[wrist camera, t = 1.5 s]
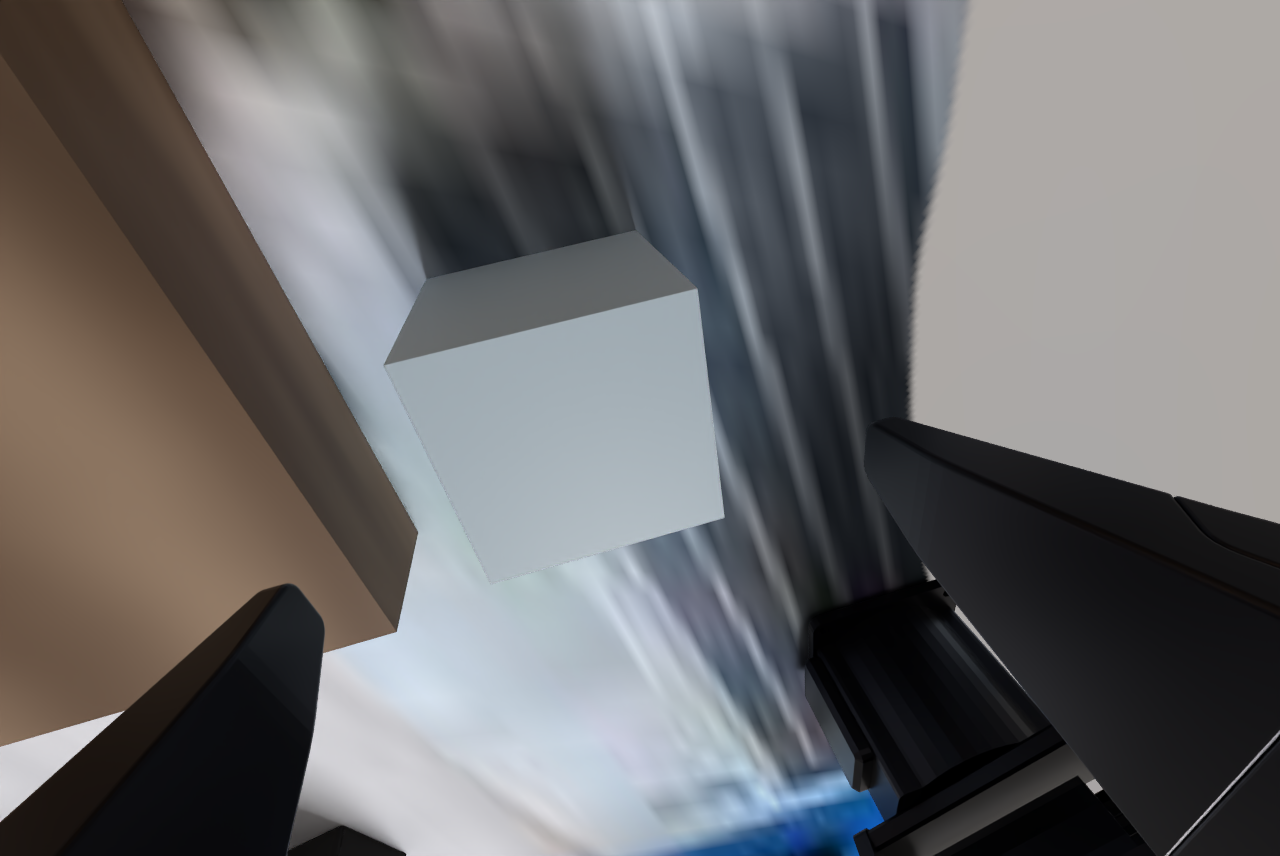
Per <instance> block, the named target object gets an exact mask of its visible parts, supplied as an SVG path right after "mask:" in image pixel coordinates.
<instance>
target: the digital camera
mask: <svg viewBox="0 0 1280 856" xmlns="http://www.w3.org/2000/svg"><path fill="white" fill-rule="evenodd" d="M344 830H345V831H344ZM343 834H344V835H343ZM340 847H341V849H340ZM339 852H340V853H339ZM287 856H406V854H405V853H404V852H400V851H398V850H396V849H394V848H391V847H389V846H387V845H385V844H383V843H380V842H378V841H376V840H374V839H372V838H369V837H367V836H365V835H363V834H360V833H358V832H356V831H354V830H352V829H349V828H347V827H345V826H340V827H338V828H336V829H334V830H332V831H330V832H327V833H325V834H323V835H321V836H319V837H317V838H315V839H313V840H311V841H309V842H306V843H304V844H302V845H300V846H298V847H296V848H294V849H292V850H290V851H288V852H287Z"/></svg>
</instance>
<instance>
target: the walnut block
mask: <svg viewBox="0 0 1280 856" xmlns="http://www.w3.org/2000/svg"><path fill="white" fill-rule="evenodd" d="M417 535H418V531H417V530H416V528H415V526H414V524H413V522H412V521H411V519H410V517H409V515H408V514H407V512H406V510H405V508H404V506H403V505H402V503H401V501H400V499H399V497H398V496H397V494H396V492H395V490H394V488H393V487H392V485H391V483H390V481H389V479H388V478H387V476H386V474H385V472H384V470H383V469H382V467H381V465H380V463H379V461H378V460H377V458H376V456H375V454H374V453H373V451H372V449H371V447H370V445H369V444H368V442H367V440H366V438H365V436H364V435H363V433H362V431H361V429H360V427H359V426H358V424H357V422H356V420H355V418H354V417H353V415H352V413H351V411H350V409H349V408H348V406H347V404H346V402H345V400H344V399H343V397H342V395H341V393H340V392H339V390H338V388H337V386H336V384H335V383H334V381H333V379H332V377H331V375H330V374H329V372H328V370H327V368H326V366H325V365H324V363H323V361H322V359H321V357H320V356H319V354H318V352H317V350H316V348H315V347H314V345H313V343H312V341H311V339H310V338H309V336H308V334H307V332H306V331H305V329H304V327H303V325H302V323H301V322H300V320H299V318H298V316H297V314H296V313H295V311H294V309H293V307H292V305H291V304H290V302H289V300H288V298H287V296H286V295H285V293H284V291H283V289H282V287H281V286H280V284H279V282H278V280H277V278H276V277H275V275H274V273H273V271H272V270H271V268H270V266H269V264H268V262H267V261H266V259H265V257H264V255H263V253H262V252H261V250H260V248H259V246H258V244H257V243H256V241H255V239H254V237H253V235H252V234H251V232H250V230H249V228H248V226H247V225H246V223H245V221H244V219H243V218H242V216H241V214H240V212H239V210H238V209H237V207H236V205H235V203H234V201H233V200H232V198H231V196H230V194H229V192H228V191H227V189H226V187H225V185H224V183H223V182H222V180H221V178H220V176H219V174H218V173H217V171H216V169H215V167H214V165H213V164H212V162H211V160H210V158H209V157H208V155H207V153H206V151H205V149H204V148H203V146H202V144H201V142H200V140H199V139H198V137H197V135H196V133H195V131H194V130H193V128H192V126H191V124H190V122H189V121H188V119H187V117H186V115H185V113H184V112H183V110H182V108H181V106H180V104H179V103H178V101H177V99H176V97H175V96H174V94H173V92H172V90H171V88H170V87H169V85H168V83H167V81H166V79H165V78H164V76H163V74H162V72H161V70H160V69H159V67H158V65H157V63H156V61H155V60H154V58H153V56H152V54H151V52H150V51H149V49H148V47H147V45H146V43H145V42H144V40H143V38H142V36H141V35H140V33H139V31H138V29H137V27H136V26H135V24H134V22H133V20H132V18H131V17H130V15H129V13H128V11H127V9H126V8H125V6H124V4H123V2H122V0H0V747H1V746H4V745H8V744H11V743H15V742H18V741H21V740H25V739H28V738H32V737H35V736H39V735H42V734H46V733H49V732H53V731H56V730H59V729H63V728H66V727H70V726H73V725H77V724H80V723H84V722H87V721H90V720H94V719H97V718H101V717H104V716H108V715H111V714H115V713H118V712H122V711H125V710H127V709H128V708H129V707H130V706H131V705H132V704H133V703H134V702H136V701H137V700H138V699H139V698H140V697H141V696H142V695H143V694H144V693H146V692H147V691H148V690H149V689H150V688H151V687H152V686H153V685H155V684H156V683H157V682H158V681H159V680H160V679H161V678H162V677H164V676H165V675H166V674H167V673H168V672H169V671H170V670H171V669H172V668H174V667H175V666H176V665H177V664H178V663H179V662H180V661H181V660H183V659H184V658H185V657H186V656H187V655H188V654H189V653H190V652H192V651H193V650H194V649H195V648H196V647H197V646H198V645H199V644H200V643H202V642H203V641H204V640H205V639H206V638H207V637H208V636H209V635H211V634H212V633H213V632H214V631H215V630H216V629H217V628H218V627H220V626H221V625H222V624H223V623H224V622H225V621H226V620H227V619H228V618H230V617H231V616H232V615H233V614H234V613H235V612H236V611H237V610H239V609H240V608H241V607H242V606H243V605H244V604H245V603H246V602H248V601H249V600H250V599H251V598H252V597H253V596H254V595H255V594H257V593H258V592H260V591H261V590H264V589H267V588H271V587H274V586H278V585H281V584H285V583H292V584H294V585H296V586H297V587H298V588H299V589H300V590H301V591H302V592H303V594H304V595H305V596H306V598H307V599H308V600H309V601H310V603H311V604H312V605H313V606H314V608H315V609H316V610H317V612H318V613H319V614H320V615H321V617H322V619H323V622H324V626H325V639H324V648H323V653H325V652H329V651H332V650H336V649H339V648H343V647H346V646H349V645H353V644H356V643H360V642H363V641H367V640H370V639H374V638H377V637H381V636H384V635H387V634H391V633H394V632H397V628H398V623H399V619H400V614H401V609H402V605H403V600H404V595H405V591H406V586H407V582H408V577H409V572H410V568H411V563H412V558H413V554H414V549H415V544H416V540H417Z"/></svg>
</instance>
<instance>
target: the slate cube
mask: <svg viewBox="0 0 1280 856" xmlns="http://www.w3.org/2000/svg"><path fill="white" fill-rule="evenodd" d="M384 367H385V370H386V372H387V374H388V376H389V378H390V380H391V382H392V384H393V386H394V388H395V390H396V392H397V394H398V396H399V398H400V400H401V402H402V404H403V406H404V408H405V410H406V412H407V414H408V417H409V419H410V421H411V423H412V425H413V427H414V429H415V431H416V433H417V435H418V437H419V439H420V441H421V443H422V445H423V447H424V449H425V451H426V453H427V455H428V457H429V459H430V461H431V464H432V466H433V468H434V470H435V472H436V474H437V476H438V478H439V480H440V482H441V484H442V486H443V488H444V490H445V492H446V494H447V496H448V498H449V500H450V502H451V504H452V506H453V509H454V511H455V513H456V515H457V517H458V519H459V521H460V523H461V525H462V527H463V529H464V531H465V533H466V535H467V537H468V539H469V541H470V543H471V545H472V547H473V549H474V551H475V553H476V556H477V558H478V560H479V562H480V564H481V566H482V568H483V570H484V572H485V574H486V576H487V578H488V580H489V582H490V584H494V583H497V582H501V581H504V580H508V579H511V578H515V577H518V576H522V575H525V574H529V573H532V572H536V571H539V570H543V569H546V568H550V567H553V566H557V565H560V564H564V563H567V562H571V561H574V560H578V559H581V558H585V557H588V556H592V555H595V554H599V553H602V552H606V551H610V550H613V549H617V548H620V547H624V546H627V545H631V544H634V543H638V542H641V541H645V540H648V539H652V538H655V537H659V536H662V535H666V534H669V533H673V532H676V531H680V530H683V529H687V528H690V527H694V526H697V525H701V524H704V523H708V522H711V521H715V520H718V519H722V518H724V509H723V501H722V492H721V484H720V475H719V467H718V458H717V450H716V441H715V433H714V424H713V416H712V408H711V399H710V391H709V382H708V374H707V365H706V357H705V348H704V340H703V331H702V323H701V314H700V306H699V297H698V289H697V288H696V287H695V286H694V285H693V284H692V283H691V282H690V281H689V280H688V279H687V278H686V277H685V276H684V275H683V274H682V273H681V272H680V271H678V270H677V269H676V268H675V267H674V266H673V265H672V264H671V263H670V262H669V261H668V260H667V259H666V258H665V257H664V256H663V255H662V254H661V253H660V252H658V251H657V250H656V249H655V248H654V247H653V246H652V245H651V244H650V243H649V242H648V241H647V240H646V239H645V238H644V237H643V236H642V235H641V234H639V233H638V232H637V231H636V230H634V231H630V232H626V233H621V234H617V235H613V236H608V237H604V238H600V239H596V240H591V241H587V242H583V243H578V244H574V245H570V246H566V247H561V248H557V249H553V250H548V251H544V252H540V253H536V254H531V255H527V256H523V257H518V258H514V259H510V260H506V261H501V262H497V263H493V264H488V265H484V266H480V267H476V268H471V269H467V270H463V271H458V272H454V273H450V274H446V275H441V276H437V277H433V278H428V279H426V281H425V283H424V285H423V287H422V289H421V291H420V293H419V295H418V297H417V299H416V301H415V303H414V305H413V307H412V309H411V311H410V313H409V315H408V317H407V319H406V321H405V323H404V325H403V327H402V329H401V331H400V333H399V335H398V337H397V339H396V341H395V343H394V345H393V347H392V350H391V352H390V354H389V356H388V358H387V360H386V362H385V364H384Z"/></svg>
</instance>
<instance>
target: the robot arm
mask: <svg viewBox="0 0 1280 856" xmlns="http://www.w3.org/2000/svg"><path fill="white" fill-rule="evenodd" d="M864 467H865V472H866V474H867V477H868V479H869V480H870V482H871V484H872V485H873V487H874V488H875V490H876V491H877V493H878V495H879V496H880V498H881V499H882V501H883V503H884V504H885V506H886V507H887V509H888V510H889V512H890V514H891V515H892V517H893V518H894V520H895V522H896V523H897V525H898V526H899V528H900V529H901V531H902V533H903V534H904V536H905V537H906V539H907V540H908V542H909V543H910V545H911V546H912V548H913V549H914V551H915V552H916V554H917V555H918V556H919V558H920V559H921V560H922V562H923V563H924V564H925V566H926V567H927V568H928V570H929V571H930V572H931V573H932V575H933V576H934V577H935V578H936V580H932V581H929V582H926V583H923V584H919V585H916V586H913V587H909V588H906V589H903V590H900V591H896V592H893V593H890V594H886V595H883V596H880V597H877V598H873V599H870V600H867V601H863V602H860V603H857V604H854V605H850V606H847V607H844V608H841V609H837V610H834V611H831V612H827V613H824V614H821V615H818V616H816V617H815V618H813V619H812V620H811V621H810V623H809V658H808V659H807V661H806V664H805V696H806V699H807V701H808V703H809V705H810V707H811V708H812V710H813V712H814V714H815V716H816V718H817V720H818V722H819V724H820V726H821V728H822V730H823V732H824V734H825V736H826V738H827V740H828V742H829V744H830V746H831V748H832V750H833V752H834V754H835V756H836V758H837V760H838V762H839V764H840V766H841V768H842V770H843V772H844V774H845V776H846V778H847V780H848V782H849V784H850V786H851V787H852V788H853V789H855V790H856V791H858V792H862V791H865V790H868V791H869V792H870V794H871V796H872V798H873V800H874V802H875V804H876V806H877V808H878V810H879V811H880V813H881V815H882V817H883V819H884V822H882V823H881V824H879V825H877V826H876V827H874V828H872V829H870V830H869V829H867V828H866V829H864V830H862V831H861V832H859V833H857V834H855V835H854V836H853V838H854V841H855V844H856V847H857V850H858V853H859V855H860V856H1280V524H1278V523H1274V522H1271V521H1267V520H1264V519H1260V518H1256V517H1252V516H1249V515H1245V514H1241V513H1237V512H1233V511H1230V510H1226V509H1223V508H1219V507H1215V506H1212V505H1208V504H1205V503H1201V502H1198V501H1194V500H1190V499H1187V498H1184V497H1180V496H1177V497H1174V498H1173V497H1172V495H1170V494H1168V493H1165V492H1162V491H1158V490H1155V489H1151V488H1147V487H1144V486H1140V485H1137V484H1133V483H1130V482H1126V481H1123V480H1119V479H1115V478H1112V477H1108V476H1105V475H1101V474H1098V473H1094V472H1091V471H1087V470H1084V469H1080V468H1076V467H1073V466H1069V465H1066V464H1062V463H1058V462H1055V461H1051V460H1048V459H1044V458H1040V457H1037V456H1034V455H1030V454H1027V453H1023V452H1019V451H1016V450H1012V449H1008V448H1005V447H1001V446H998V445H994V444H990V443H987V442H984V441H980V440H977V439H973V438H970V437H966V436H962V435H959V434H955V433H952V432H948V431H945V430H941V429H937V428H934V427H930V426H927V425H923V424H920V423H916V422H913V421H909V420H906V419H902V418H899V417H889V418H885V419H882V420H878V421H874V422H872V423H870V424H869V425H868V427H867V430H866V442H865V457H864ZM956 605H957V606H958V607H959V608H960V610H961V611H962V612H963V613H964V615H965V616H966V617H967V618H968V620H969V621H970V622H971V623H972V625H973V626H974V627H975V629H976V630H977V631H978V632H979V634H980V635H981V636H982V637H983V638H984V640H985V641H986V642H987V644H988V645H989V646H990V647H991V648H992V650H993V651H994V652H995V654H996V655H997V656H998V657H999V659H1000V660H1001V661H1002V662H1003V664H1004V665H1005V666H1006V667H1007V669H1008V670H1009V671H1010V673H1011V674H1012V675H1013V676H1014V677H1015V679H1016V680H1017V681H1018V683H1019V684H1020V685H1021V686H1022V687H1021V686H1020V685H1019V684H1018V683H1017V681H1016V680H1015V679H1014V678H1013V677H1012V676H1011V675H1010V674H1009V672H1008V671H1007V670H1006V669H1005V668H1004V667H1003V666H1002V665H1001V664H1000V662H999V661H998V660H997V659H996V658H995V657H994V656H993V654H992V653H991V652H990V651H989V650H988V649H987V648H986V647H985V645H984V644H983V643H982V642H981V641H980V640H979V639H978V638H977V636H976V635H975V634H974V633H973V632H972V631H971V630H970V629H969V627H968V626H967V625H966V624H965V623H964V622H963V621H962V620H961V618H960V617H959V616H958V615H957V614H956V613H955V612H954V611H955V607H956ZM324 639H325V626H324V622H323V619H322V617H321V615H320V614H319V613H318V612H317V610H316V609H315V608H314V606H313V605H312V604H311V603H310V601H309V600H308V599H307V598H306V596H305V595H304V594H303V592H302V591H301V590H300V589H299V588H298V587H297V586H296V585H294V584H292V583H285V584H281V585H278V586H274V587H271V588H267V589H264V590H261V591H260V592H258V593H257V594H255V595H254V596H253V597H252V598H251V599H250V600H249V601H248V602H246V603H245V604H244V605H243V606H242V607H241V608H240V609H239V610H237V611H236V612H235V613H234V614H233V615H232V616H231V617H230V618H228V619H227V620H226V621H225V622H224V623H223V624H222V625H221V626H220V627H218V628H217V629H216V630H215V631H214V632H213V633H212V634H211V635H209V636H208V637H207V638H206V639H205V640H204V641H203V642H202V643H200V644H199V645H198V646H197V647H196V648H195V649H194V650H193V651H192V652H190V653H189V654H188V655H187V656H186V657H185V658H184V659H183V660H181V661H180V662H179V663H178V664H177V665H176V666H175V667H174V668H172V669H171V670H170V671H169V672H168V673H167V674H166V675H165V676H164V677H162V678H161V679H160V680H159V681H158V682H157V683H156V684H155V685H153V686H152V687H151V688H150V689H149V690H148V691H147V692H146V693H144V694H143V695H142V696H141V697H140V698H139V699H138V700H137V701H136V702H134V703H133V704H132V705H131V706H130V707H129V708H128V709H127V710H125V711H124V712H123V713H122V714H121V715H120V716H119V717H118V718H116V719H115V720H114V721H113V722H112V723H111V724H110V725H109V726H108V727H106V728H105V729H104V730H103V731H102V732H101V733H100V734H99V735H97V736H96V737H95V738H94V739H93V740H92V741H91V742H90V743H88V744H87V745H86V746H85V747H84V748H83V749H82V750H81V751H80V752H78V753H77V754H76V755H75V756H74V757H73V758H72V759H71V760H69V761H68V762H67V763H66V764H65V765H64V766H63V767H62V768H60V769H59V770H58V771H57V772H56V773H55V774H54V775H53V776H52V777H50V778H49V779H48V780H47V781H46V782H45V783H44V784H43V785H41V786H40V787H39V788H38V789H37V790H36V791H35V792H34V793H32V794H31V795H30V796H29V797H28V798H27V799H26V800H25V801H23V802H22V803H21V804H20V805H19V806H18V807H17V808H16V809H15V810H13V811H12V812H11V813H10V814H9V815H8V816H7V817H6V818H4V819H3V820H2V821H1V822H0V856H287V852H288V848H289V843H290V839H291V834H292V830H293V825H294V821H295V816H296V812H297V807H298V803H299V798H300V794H301V789H302V785H303V780H304V776H305V771H306V767H307V762H308V758H309V753H310V748H311V743H312V738H313V732H314V725H315V719H316V710H317V701H318V692H319V683H320V675H321V666H322V657H323V648H324ZM1024 690H1025V691H1026V692H1025V691H1024ZM1093 779H1096V781H1097V782H1098V783H1099V784H1100V786H1101V787H1102V788H1103V790H1101V791H1099V792H1097V793H1096V794H1094V793H1093V792H1092V791H1091V790H1090V789H1089V788H1088V786H1087V785H1086V783H1088V782H1090V781H1091V780H1093Z"/></svg>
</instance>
